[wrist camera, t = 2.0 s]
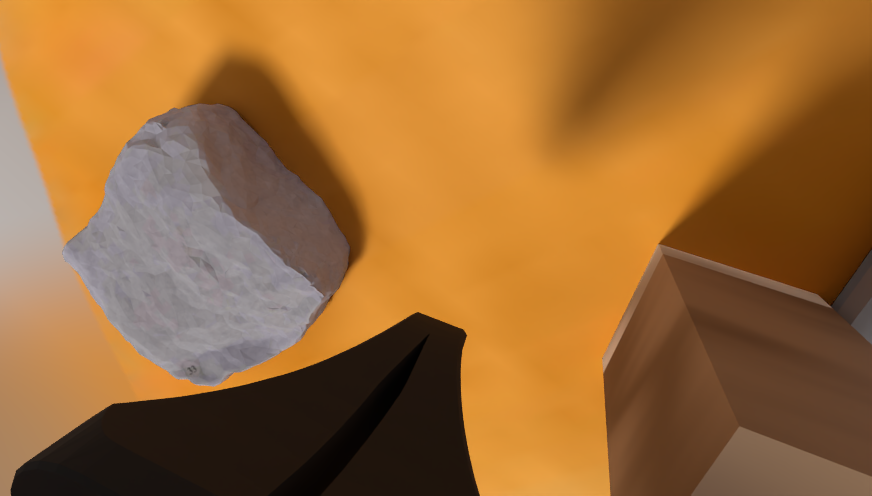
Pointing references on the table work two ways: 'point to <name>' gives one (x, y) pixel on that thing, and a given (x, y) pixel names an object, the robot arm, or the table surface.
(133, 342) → the stone block
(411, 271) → the table surface
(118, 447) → the robot arm
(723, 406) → the walnut block
